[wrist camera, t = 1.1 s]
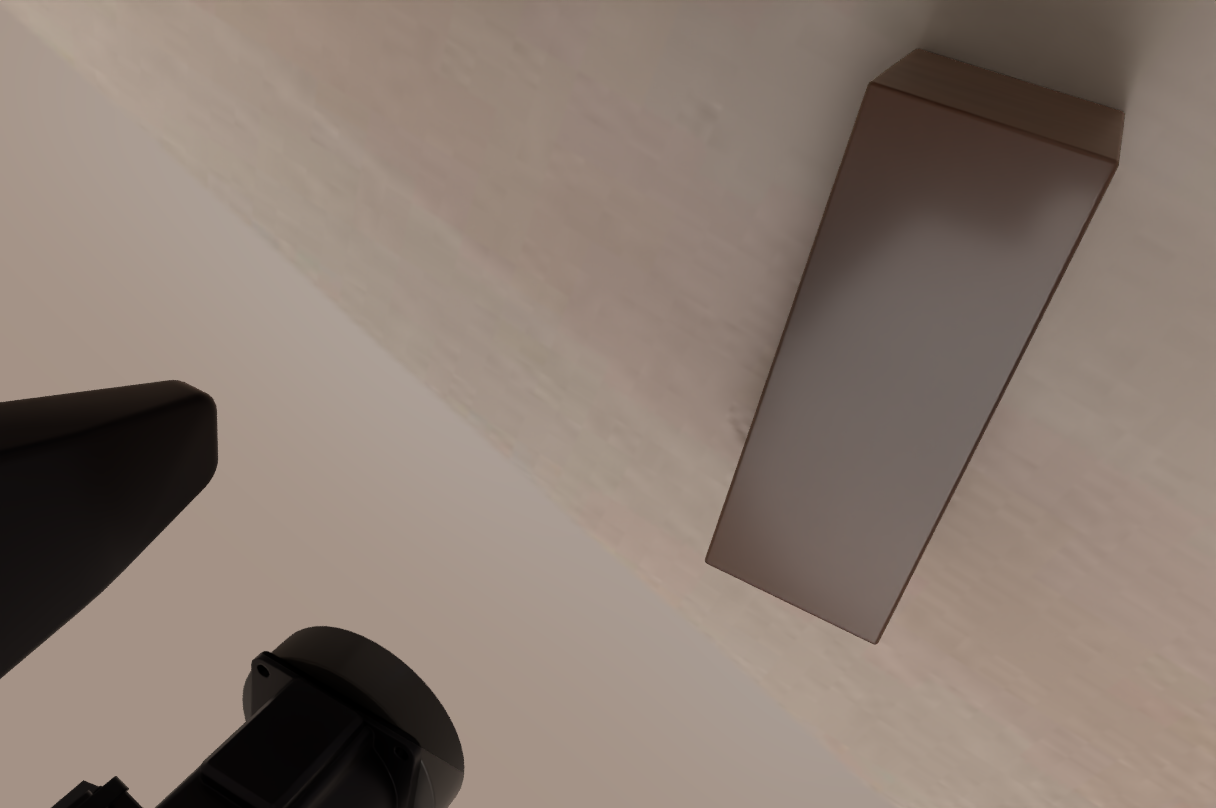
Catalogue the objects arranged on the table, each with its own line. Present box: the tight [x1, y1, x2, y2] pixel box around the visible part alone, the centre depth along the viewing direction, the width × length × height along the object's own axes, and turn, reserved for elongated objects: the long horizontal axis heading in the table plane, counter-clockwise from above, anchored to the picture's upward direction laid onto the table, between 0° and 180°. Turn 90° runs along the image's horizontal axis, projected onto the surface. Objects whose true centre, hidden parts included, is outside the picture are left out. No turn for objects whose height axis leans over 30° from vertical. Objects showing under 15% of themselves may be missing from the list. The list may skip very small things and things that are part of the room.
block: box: [705, 49, 1125, 645], centre depth 15 cm, size 8×3×3 cm, turn 167°
